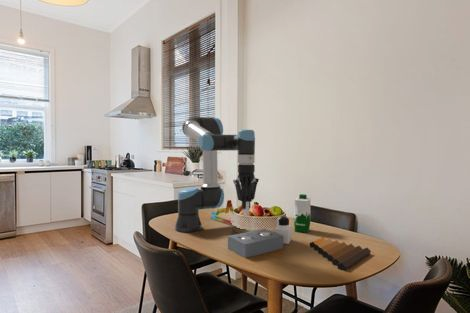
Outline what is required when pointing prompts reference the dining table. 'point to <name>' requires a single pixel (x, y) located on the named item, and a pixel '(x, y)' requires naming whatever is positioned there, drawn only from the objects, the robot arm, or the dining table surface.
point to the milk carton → (302, 213)
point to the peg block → (255, 243)
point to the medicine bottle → (284, 229)
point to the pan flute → (340, 252)
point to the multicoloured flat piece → (226, 210)
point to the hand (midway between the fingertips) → (246, 215)
